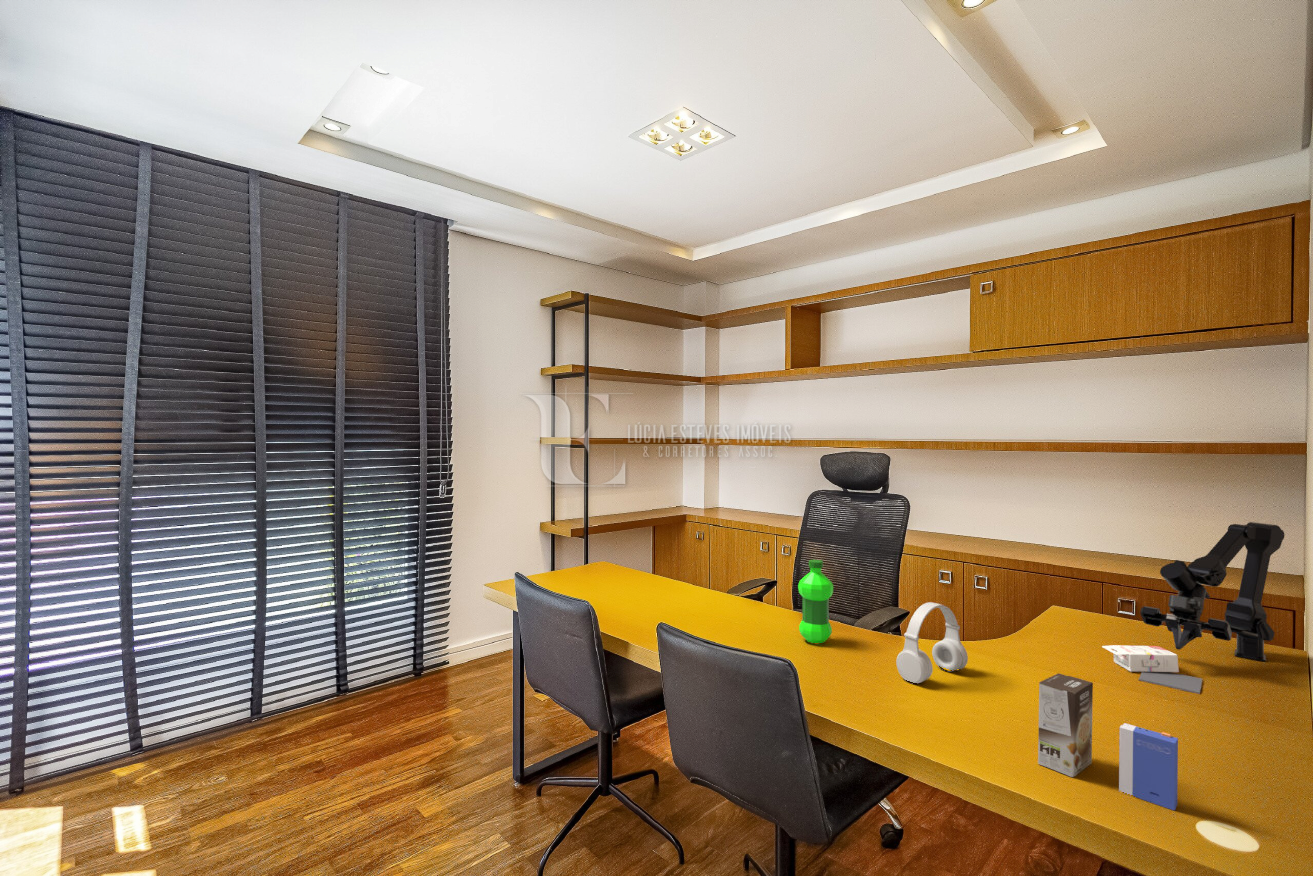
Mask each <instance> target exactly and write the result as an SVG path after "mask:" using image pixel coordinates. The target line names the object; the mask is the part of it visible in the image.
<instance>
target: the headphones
mask: <svg viewBox="0 0 1313 876" xmlns="http://www.w3.org/2000/svg"><path fill="white" fill-rule="evenodd" d="M935 609H940V611H941V613H942V614H943V616H944V621H945V634H944V638H943V639H942V640H940V641H937V642H936V643H935V644H933V647H932V651H931V654H932V655H931V656H932V658H933V660H934V663H935V664H936V666H938V667H939V666H940V667H942V668H946V669H949V670H952V671H951V672H955V671H954V670H957V669H961V670H962V669H964V668H965V667H966V666H967V664H968V660H969V656H968V652H967V650H966V648H965V647H964V645H963V644H962V642H961V638H960V637H961V636H960V633H959V632H960V631H959V630H960V629H961V626H960V625H958V624H959V623H958V621H957V618H956V615H955V613H954V612H953V611H952V610H951V608H949V607H948V606H946V605H944V604H941V603H936V602H932V601H929V602H925V603H923V604H922V605H920V606H919V607H918V608H916V610H915V611H914V613H913V615H912V616H911V618H910V621H909V623H908V627H907V629H906V632H905V633H904V634H903V636H904V638H905V639H904V646H903V649H902V651H901V652H899V653H898V655H897V657H896V661H895V663H896V668H897V671H898V673H899V675H900V676H901V677H902V679H904V681H906V680H907V681H910V682H913V683H917V684H920V683H923V682H924V681H927V680H929V678H931V676H932V674H933V670H934V669H933V664H932V663H933V662H932V661H931V659H930V657H929V656H928V654H927V653H926V652H925V651H923V650H921V649H920V648H919V639H920V636H919V633H920V631H921V628H922V625H923V623H924V620H925V619H926V617H928V615H929V613H930V612H931V611H933V610H935ZM940 667H939V668H940ZM957 671H958V670H957ZM907 681H906V682H907ZM913 683H912V684H913Z"/></svg>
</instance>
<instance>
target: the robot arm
mask: <svg viewBox="0 0 1313 876" xmlns="http://www.w3.org/2000/svg"><path fill="white" fill-rule="evenodd" d="M1285 535H1286V534H1285V531H1284V530H1283V529H1282V528H1281V526H1279V525H1278V524H1271V523H1261V522H1255V521H1254V522H1253V521H1249V522H1248V523H1247V524H1239V523H1233V524H1229V525H1228V527H1227V530H1226V532H1225V534H1223V536H1221V538H1219V540H1218V541H1217V543H1216V544H1215V545H1214V546H1213V547H1212V548H1211V550H1210V551H1208V553H1207V554H1206V555H1203V556H1202V557H1197V558H1195V559H1194V560H1193V561H1192V562H1191V563H1189V564H1188V565H1187V564H1186V563H1185V561H1183V560H1179V559H1178V560H1177V559H1175V560H1174V562H1171V563H1167V564H1165V565H1164V566H1162V567H1161V568H1160V569H1159V573H1160V576H1161V577H1162V578H1163V580H1165V581H1166V582H1167V583H1168V585H1169V586H1170V587H1171V588H1172V589H1173V590H1175V591H1177V595H1174V594H1169V597H1168V604H1167V605H1168V607H1169V612H1170V613H1166V614H1164V613H1162V612H1161V610H1160V608H1159V607H1151V606H1146V605H1144V606H1142V607H1141V608H1140V612H1139V614H1140V617H1141V619H1142V621H1143V623H1144V624H1146V625H1149V626H1154V627H1160V626H1162V625H1163V623H1164V624H1165V626H1166V629H1167V631H1168V632H1171V633H1172V636H1173V640H1174V646H1175V650H1178V651H1180V650H1182V649H1183V648H1184V647H1185V646H1187V645H1188V644H1189V643H1190V642H1193V641H1194V640H1195V639H1197V638H1199V639H1200V638H1202V637H1203V634H1202V632H1203V630H1206V631H1211V636H1213V637H1214V638H1215V639H1217V640H1222V641H1227V642H1230V641H1231V640H1232V634H1236V649H1234V657H1239V658H1244V659H1248V660H1255V661H1259V660H1260V662H1267V657H1266V654H1265V653H1264V651H1265V648H1264V647H1265V641H1267V642H1271V641H1272V640H1274V638H1275V631H1274V630H1273V628H1272V627H1271V626H1270V624H1269V623H1268V622H1267V618H1268V615H1267V613H1266V610H1265V609H1264V607H1263V605H1262V601H1263V596H1264V591H1265V586H1266V580H1267V576H1268V570H1269V565H1270V561H1271V556H1272V555H1273V554H1274V553H1276V552H1277V551H1278V550H1279V549H1281V546H1282V543H1283V540H1284V539H1285ZM1244 547H1245V549H1246V556H1245V561H1244V566H1243V570H1242V575H1241V576H1242V577H1241V580H1240V581H1241V582H1240V584H1239V585H1240V586H1239V591H1238V596H1237V598H1236V599H1235V600H1234V601H1228V602H1227V603H1226V610H1225V612H1224V620H1223V619H1217V618H1212V617H1210V618H1208V621H1203V620H1202V621H1201V616H1202V615H1203V611H1204V602H1205V600H1206V599H1210V598H1211V597H1210V594H1209V592H1208V591H1207V589H1206V588H1205V586H1208V587H1212V588H1215V587H1216V588H1217V587H1219V586H1221V584H1222V583H1223V582H1224V580H1225V578H1226V577H1227V575H1228V574H1227V566H1228V565H1229V564H1230V563H1231V561H1233V559H1234V558H1235V557H1236V556H1237V555H1238V554H1239V552H1240V551H1241V550H1242V549H1243V548H1244ZM1181 627H1183V628H1182V629H1181Z"/></svg>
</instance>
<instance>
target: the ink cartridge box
mask: <svg viewBox="0 0 1313 876" xmlns="http://www.w3.org/2000/svg"><path fill="white" fill-rule="evenodd" d="M1101 647H1102V648H1103V649H1105V650H1107V651H1109V652H1110V653H1112V654H1113V662H1114V663H1115V664H1116V665H1118V666H1120V667H1122V668H1124V669H1125V670H1127V671H1129V672H1130V673H1131V672H1137V673H1138V672H1141V673H1142V672H1172V673H1179V672H1180V670H1179V669H1180V668H1179V660H1178V659H1179V658H1178V654H1176V653H1174V652H1171V651H1170V650H1167V649H1165V648H1163V647H1161V646H1157V645H1118V644H1114V645H1113V644H1111V645H1102V646H1101Z"/></svg>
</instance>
